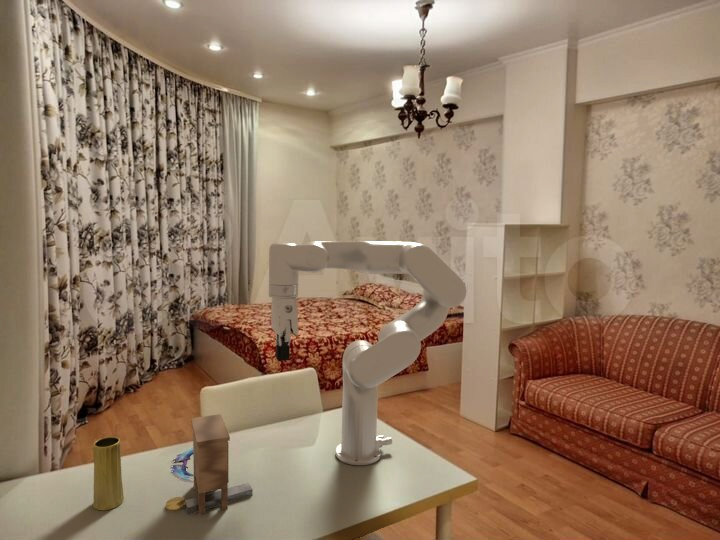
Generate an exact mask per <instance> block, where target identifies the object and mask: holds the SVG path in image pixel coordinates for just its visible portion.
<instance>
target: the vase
mask: <svg viewBox="0 0 720 540" xmlns="http://www.w3.org/2000/svg"><path fill="white" fill-rule="evenodd" d="M124 497H125V496H124V487H123V477H122V454H121V439H120V438H119V437H117V436H105V437H101V438H99V439H96V440H95V441H94V443H93V503H92V506H93V508H94V509H95V510H98V511H109V510H113V509H114V508H118V507H119V506H120V505H121V504H122V503H123V502H124V499H125V498H124Z"/></svg>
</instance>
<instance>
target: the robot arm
mask: <svg viewBox="0 0 720 540" xmlns="http://www.w3.org/2000/svg"><path fill="white" fill-rule="evenodd" d="M268 250H269V251H268V298H271V310H270V311H271V312H270V323H271V324H270V325H271V329H272V331H273V332H275V343H276V344H275V359H276V361H278V362H279V361H289V360H290V355H291V354H290V349H291V348H290V345H291V341H292V337H291V336H292V335H294V336H297V335H299V318H298V302H297V298H298V297H299V272H303V273H304V272H305V273H311V274H315V273H320V272H322V271H324V270H325V269H339V270H340V269H341V270H348V271H349V270H350V271H354V272H357V273H361V274H368V275H372V274H373V275H379V274H381V275H383V274H385V275H386V274H387V275H409V276H410V277H411V278H413V280H414V281H415V282H416V283H417V284H418V285H419V286H420V287H421V288H422V289H423V294H422V298H421V299H420V301H419V302H418V303H417V304H416V305H415V306H413V307H412V308H411V309H409V310H407V311H406V312H405V313H403V314H402V315H400V316H398V317H397V318H395V319H393V320H391V321H390V322H389V323H386V324H385V325H383V326H382V328H380V330H379V332H378V341H377V342H376V343H374V344H372V343H371V342H369V341H367V340H363V339H362V340H361V339H359V340H355V341H352V342H350V343H349V344H348V345H347V346H346V347H345V348H344V349H345V350H344V351H343V355H342V405H341V406H342V407H341V409H342V410H341V412H342V413H341V442H340V443H339V444H338V445H337V446H336V448H335V456H336V458H337V459H338V460H339V461H340V462H342V463H345V464H348V465H352V466H368V465H371V464H374V463H376V462H377V461H379V460H380V459H381V457H382V449H381V448H383V446H389V445H392V444H393V439H392V437H384V435H383V434H382V435H377V432H378V431H377V429H378V428H377V427H378V425H377V424H378V401H379V385H381V384H382V383H384V382H386V381H388V380H389V379H391V378H393V376H395V375H397V374H399V373H400V372H402V371H403V370H405V369H407V368H408V367H409V366H411V365H413V363H414V362H415V361H416V360H417V358H418V357H419V355H420V353H421V349H422V343H421V342H422V341H423V340H425V339H426V338H427V337H429V336H430V335H432V334H433V333H434V332H436V331H437V330H439V328H441V326H442V325H443V324H444V322H445V321H446V319H447V316H448V313H449V311H450V309H451V308H452V309H453V308H456V307H458V306H460V305H461V304H462V303H464V301H465V299H466V296H467V286H466V283H465V282H464V280H463V279H462V278H461V277H460V276H459V275H458V274H457V273H456V272H455V271H454V270H453V269H452V268H451V267H450V266H449V265H448V264H447V263H446V262H445V261H444V260H442V259H441V257H440V256H439V255H438V254H437V253H435V251H433V249H432V248H430V246H428V245H426V244H423V243H419V242H413V241H372V240H371V241H365V240H364V241H363V240H362V241H360V240H358V241H325V240H324V241H320V240H317V241H315V240H314V241H313V240H312V241H309V242H306V243H304V244H297V243H294V242H293V243H292V242H272V243H271V244H270V246H269V249H268ZM291 334H292V335H291Z"/></svg>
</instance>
